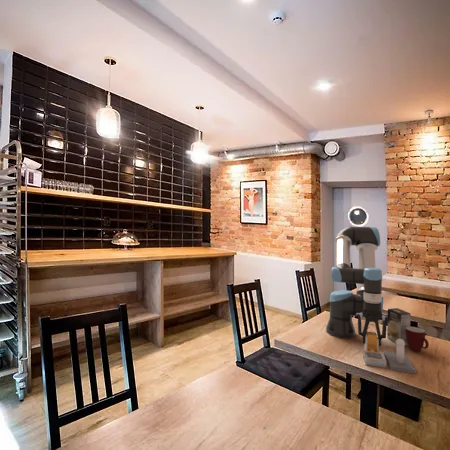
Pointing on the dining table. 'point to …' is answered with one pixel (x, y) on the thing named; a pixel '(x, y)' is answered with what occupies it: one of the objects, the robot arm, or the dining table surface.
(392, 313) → the coffee box
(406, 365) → the keeper board
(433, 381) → the dining table surface
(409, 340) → the mug
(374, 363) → the tray with orange handle
